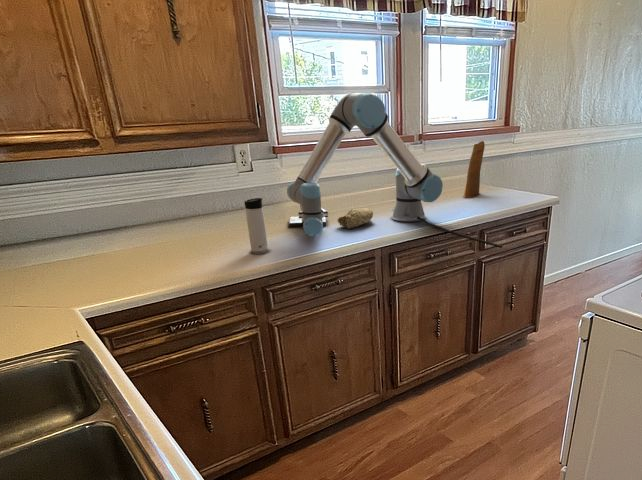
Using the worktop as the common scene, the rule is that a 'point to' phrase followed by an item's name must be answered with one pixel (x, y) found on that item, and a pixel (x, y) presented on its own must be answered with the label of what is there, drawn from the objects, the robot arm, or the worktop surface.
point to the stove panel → (298, 222)
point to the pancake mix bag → (474, 171)
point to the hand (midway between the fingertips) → (313, 206)
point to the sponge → (355, 217)
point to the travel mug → (256, 226)
